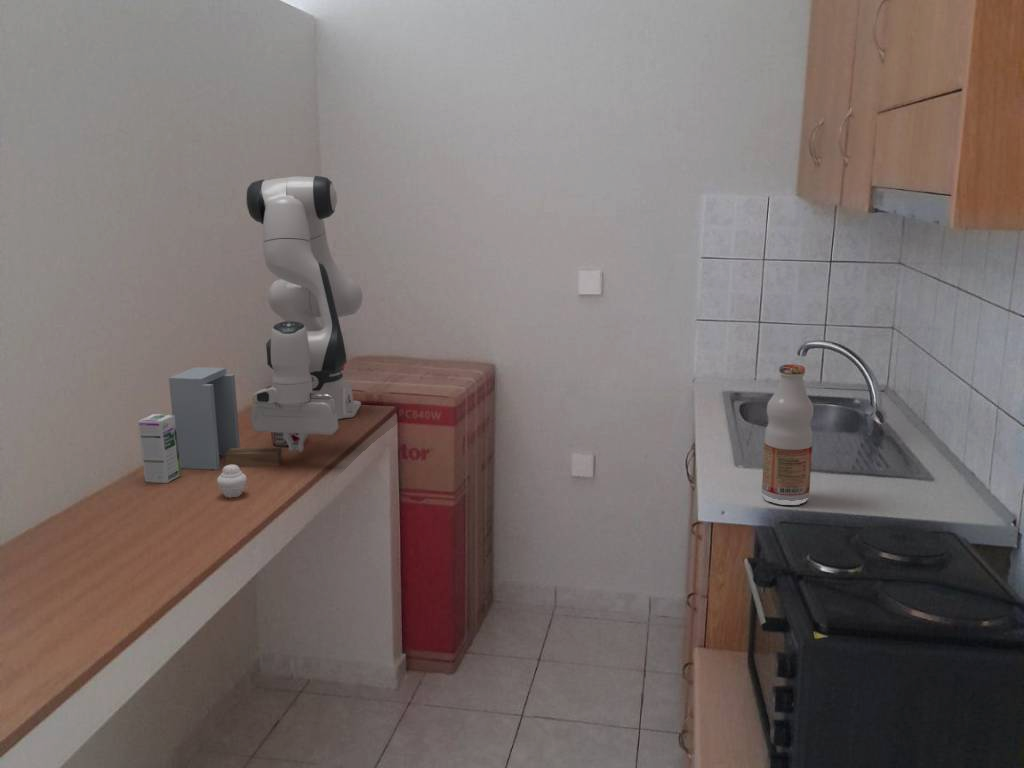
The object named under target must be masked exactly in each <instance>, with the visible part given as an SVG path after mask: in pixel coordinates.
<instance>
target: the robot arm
mask: <svg viewBox="0 0 1024 768" xmlns="http://www.w3.org/2000/svg"><path fill="white" fill-rule="evenodd" d="M337 201H338V196H337V191H336V189H335V187H334V185H333V181H331V180H330V179H329V178H328V177H325V176H320V175H314V176H304V175H303V176H301V175H299V176H297V175H296V176H294V175H293V176H288V177H279V178H278V177H277V178H273V179H267V180H265V179H259V180H256V181H253V182H251V183H250V184H249V186H248V187H247V189H246V195H245V205H246V208H247V210H248V213H249V216H250V217H251V218H252V219H253V220H254V221H256V222H257V223H260V224H261V225H262V246H263V247H262V249H263V257H264V262H265V266H266V268H267V269H268V271H270V272H271V273H272V274H273V275H274V276H275V277H278V278H279V279H277V280H274V281H273V282H272V283H271V285H270V287H269V289H268V292H267V303H268V305H269V307H270V310H272V312H274V314H275V315H277V316H278V317H280V318H281V319H282V320H283V321H281V322H278V323H276V324H274V325H273V326H272V329H271V333H270V334H271V335H270V339H268V341H267V342H266V344H265V347H266V359H267V361H266V363H267V366H268V367H270V368H271V369H272V370H273V372H272V373H273V375H272V378H271V379H272V381H271V383H272V385H270V386H267V387H264V388H262V389H259V390H258V391H256V392H254V393H253V394H252V401H253V402H254V403H253V404H252V406H251V412H250V423H251V424H250V425H251V429H252V430H253V431H254V432H256V433H257V432H260V433H271V432H275V433H283V437H284V439H285V440H286V442H287V443H288V444H289V446H288V452H297V453H298V452H299V453H302V452H303V451H304V449H305V448H304V443H305V441H306V439H307V438H308V435H327V436H329V435H330V436H331V435H333V434H335V433H336V431H337V430H338V428H339V422H338V420H342V419H348V418H354V417H355V416H356V415H357V413H358V411H359V410H360V408H361V406H362V403H361V401H359V400H354V397H353V396H354V395H353V387H352V385H350V384H349V383H348V381H346V380H345V379H344V378H343V377H344V373H343V371H345V365H346V363H347V362H348V356H349V354H348V353H349V352H348V345H347V342H346V339H345V337H344V334H343V331H342V329H341V325H340V319H339V318H341V317H349V316H351V315H355V314H356V313H357V312H358V311H359V310H360V308H361V306H362V303H363V291H362V288H361V287H360V285H359V284H358V282H357V281H356V280H355V279H353V278H352V277H349V276H348V275H347V274H346V273H344V272H343V271H342V269H340V268H339V266H338V265H337V264H336V262H335V261H334V259H333V257H332V255H331V252H330V251H331V250H330V247H329V243H328V237H327V233H326V232H327V231H326V226H325V221H324V219H327V218H330V217H331V216H333V214H334V213H335V210H336V206H337V204H338V203H337ZM317 318H321V321H322V325H323V327H322V326H321V325H320V324H319V322H318V320H317ZM293 433H298V437H299V438H300V440H299V442H298V443H295V442H294V441H293V439H292V437H291V435H293Z"/></svg>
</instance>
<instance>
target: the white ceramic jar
mask: <svg viewBox="0 0 1024 768" xmlns="http://www.w3.org/2000/svg"><path fill="white" fill-rule="evenodd" d="M240 468H241V467H238V466H237V465H231V464H230V465H227V466H226V465H225V466H224V467H223V468H222V472H221V473H220V475H219V476H218V477H217V479H216V484H217V486H218V489H220V491H221V492H222V494H223V495H224V497H225V498H227V497H229V498H228V499H232V498H231V497H236V498H239V497H241V496H242V493H243V491H244V489H245V487H246V483H247V480H248V478H247V475H246V474H245V473H243V472H242V470H241V469H240ZM240 495H241V496H240ZM238 496H239V497H238Z"/></svg>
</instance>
